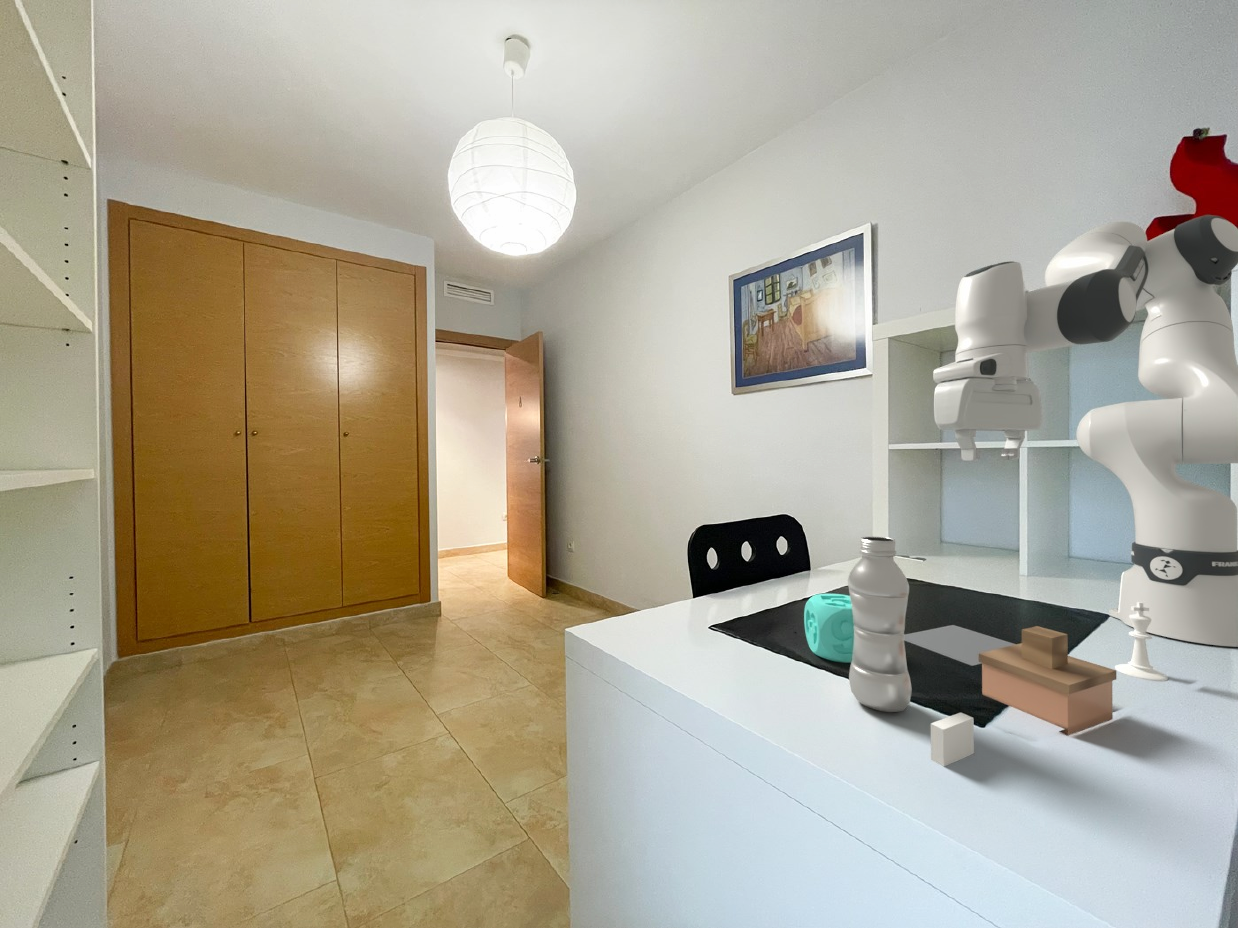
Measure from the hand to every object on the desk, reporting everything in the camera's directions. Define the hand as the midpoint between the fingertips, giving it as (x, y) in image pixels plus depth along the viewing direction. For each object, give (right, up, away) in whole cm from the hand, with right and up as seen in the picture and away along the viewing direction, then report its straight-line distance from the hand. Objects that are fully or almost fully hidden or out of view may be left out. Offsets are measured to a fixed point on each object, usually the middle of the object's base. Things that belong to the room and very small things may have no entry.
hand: (990, 460), depth 74 cm
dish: (-8, -29, -18) cm, 35 cm away
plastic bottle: (-26, -30, -17) cm, 43 cm away
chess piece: (+12, -29, -10) cm, 33 cm away
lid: (-8, -25, -18) cm, 31 cm away
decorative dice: (-24, -30, -1) cm, 38 cm away
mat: (-4, -29, +1) cm, 29 cm away
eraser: (-24, -30, -27) cm, 47 cm away
